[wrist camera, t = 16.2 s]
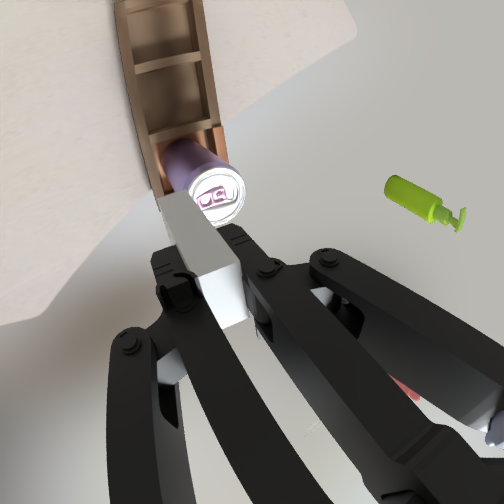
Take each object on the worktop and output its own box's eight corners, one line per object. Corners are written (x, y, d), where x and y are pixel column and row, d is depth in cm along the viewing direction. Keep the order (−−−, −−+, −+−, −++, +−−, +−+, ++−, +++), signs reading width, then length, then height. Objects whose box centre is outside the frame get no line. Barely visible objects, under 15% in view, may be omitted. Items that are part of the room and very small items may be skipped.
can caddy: (155, 201, 38) (160, 213, 35) (114, 12, 21) (114, 2, 18) (221, 179, 41) (233, 189, 38) (192, -3, 24) (202, -13, 21)
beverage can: (155, 146, 33) (176, 179, 22) (197, 131, 35) (242, 156, 24) (167, 185, 37) (195, 237, 26) (207, 171, 39) (253, 214, 27)
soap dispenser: (401, 169, 58) (471, 206, 43) (397, 195, 62) (462, 235, 47) (386, 172, 56) (460, 211, 41) (382, 199, 60) (450, 242, 45)
